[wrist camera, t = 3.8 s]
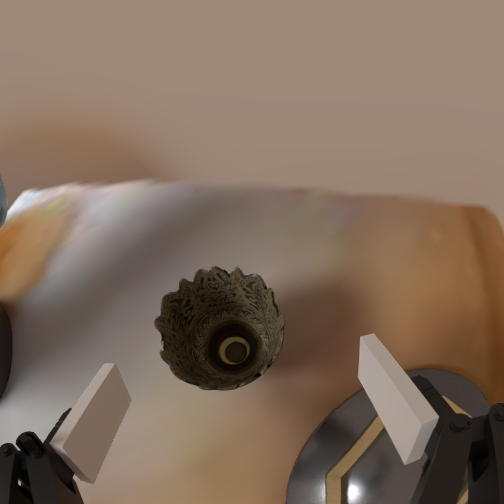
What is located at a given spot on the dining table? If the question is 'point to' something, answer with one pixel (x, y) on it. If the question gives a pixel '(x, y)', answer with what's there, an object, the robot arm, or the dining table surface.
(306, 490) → the carrier plate
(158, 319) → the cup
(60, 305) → the dining table surface
